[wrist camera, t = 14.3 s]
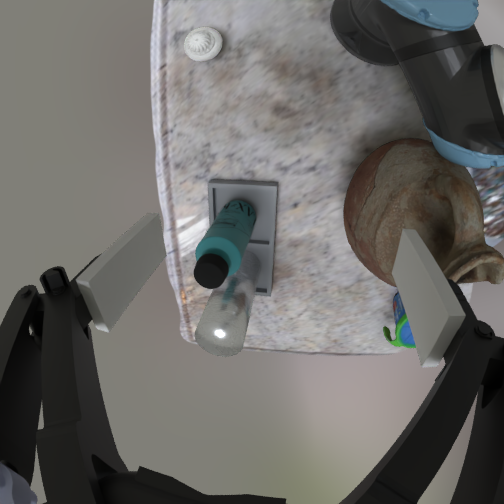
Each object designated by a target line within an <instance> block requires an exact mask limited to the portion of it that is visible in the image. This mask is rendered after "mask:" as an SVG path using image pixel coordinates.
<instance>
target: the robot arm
mask: <svg viewBox="0 0 504 504" xmlns="http://www.w3.org/2000/svg"><path fill="white" fill-rule="evenodd" d="M478 5H479V4H478V0H335V1H334V3H333V6H332V9H331V14H330V20H331V26H332V29H333V31H334V34H335V36H336V37H337V39H338V40H339V42H340V43H341V44H342V45H343V46H344V47H345V48H346V49H347V50H348V51H349V52H350V53H351V54H353V55H354V56H356V57H357V58H359V59H361V60H363V61H365V62H368V63H371V64H375V65H381V66H390V65H396V64H400V66H401V68H402V70H403V72H404V74H405V76H406V78H407V80H408V83H409V85H410V87H411V89H412V92H413V94H414V96H415V98H416V101H417V103H418V106H419V108H420V111H421V113H422V116H423V123H424V126H425V127H426V129H427V131H428V132H429V135H430V137H431V140H432V142H433V145H434V147H435V149H436V150H437V151H438V153H439V154H440V155H441V156H442V157H444V158H445V159H447V160H448V161H450V162H453V163H455V164H458V165H461V166H466V167H472V168H490V166H491V165H492V166H496V167H500V166H504V48H502V47H501V46H500V45H495V44H494V45H488V46H484V44H483V42H482V40H481V38H480V36H479V34H478V32H477V29H476V27H475V25H474V22H475V20H476V19H477V16H478V10H477V7H478ZM480 41H481V42H480ZM166 256H167V255H166V250H165V244H164V239H163V233H162V227H161V221H160V215H159V213H147V214H146V215H145V216H144V217H142V218H141V219H140V220H139V221H138V222H137V223H135V224H134V225H133V226H132V227H131V228H130V229H129V230H128V231H126V232H125V233H124V234H123V235H122V236H121V237H120V238H119V239H117V240H116V241H115V242H114V243H113V244H112V245H111V246H110V247H109V248H108V249H107V250H106V251H104V252H103V253H102V254H100V255H99V256H97V257H95V258H94V259H93V260H92V261H91V262H90V263H89V264H88V265H87V266H86V267H85V268H84V269H83V270H82V271H80V273H78V275H77V276H75V277H74V278H73V280H71V282H69V279H68V277H67V274H66V272H65V269H64V268H63V267H59V266H57V267H53V268H51V269H48V270H47V271H45V272H44V273H43V274H42V275H41V277H40V282H41V284H42V286H43V288H44V291H45V293H44V294H39V293H38V290H37V288H36V286H34V285H28V286H24V287H23V288H21V290H19V291H18V293H17V294H16V296H15V297H14V299H13V301H12V303H11V305H10V307H9V309H8V311H7V313H6V315H5V317H4V319H3V322H2V324H1V326H0V504H36V503H37V496H36V494H35V493H34V492H33V491H32V490H31V489H30V486H31V482H32V477H33V472H34V462H35V451H36V445H37V453H38V459H39V466H40V471H41V477H42V482H43V486H44V491H45V495H46V499H47V502H46V503H43V504H286V499H285V498H273V497H265V496H264V497H263V496H257V495H249V494H243V495H206V494H202V493H201V492H199V491H197V490H195V489H193V488H191V487H189V486H187V485H185V484H184V483H182V482H180V481H178V480H176V479H174V478H173V477H170V476H167V475H164V474H161V473H158V472H155V471H152V470H149V469H147V468H144V467H141V466H139V469H138V471H128V469H127V467H126V465H125V464H124V462H123V461H122V459H121V458H120V456H119V454H118V451H117V448H116V445H115V442H114V438H113V435H112V432H111V428H110V425H109V421H108V417H107V413H106V409H105V405H104V401H103V397H102V392H101V388H100V383H99V378H98V373H97V367H96V362H95V356H94V349H93V343H92V336H91V329H90V327H89V325H88V324H89V322H90V321H91V320H93V322H94V324H95V326H96V328H97V329H99V330H103V331H107V332H110V331H111V329H112V328H113V326H114V325H115V324H116V322H117V321H118V319H119V318H120V317H121V315H122V314H123V312H124V311H125V309H126V308H127V307H128V306H129V304H130V303H131V301H132V300H133V299H134V297H135V296H136V295H137V293H138V292H139V291H140V289H141V288H142V287H143V285H144V284H145V283H146V281H147V280H148V279H149V278H150V276H151V275H152V274H153V272H154V271H155V270H156V268H157V267H158V266H159V265H160V263H161V262H162V261H163V260H164V258H165V257H166ZM392 275H393V277H394V280H395V283H396V286H397V288H398V291H399V294H400V297H401V300H402V303H403V306H404V309H405V312H406V315H407V318H408V321H409V325H410V328H411V331H412V334H413V338H414V341H415V345H416V348H417V352H418V356H419V359H420V363H421V367H435V366H438V364H439V363H440V361H441V359H442V358H443V357H444V360H445V363H446V364H445V366H444V368H443V369H442V371H441V372H440V374H439V375H438V377H437V378H436V379H435V383H434V385H433V387H432V388H431V390H430V392H429V393H428V395H427V397H426V398H425V400H424V401H423V403H422V404H421V406H420V408H419V409H418V411H417V412H416V414H415V415H414V417H413V418H412V419H411V421H410V422H409V424H408V425H407V427H406V428H405V430H404V431H403V432H402V434H401V435H400V436H399V438H398V439H397V440H396V442H395V443H394V444H393V445H392V447H391V448H390V449H389V450H388V452H387V453H386V454H385V455H384V457H383V458H382V459H381V460H380V462H379V463H378V464H377V465H376V466H375V467H374V468H373V470H372V471H371V472H370V473H369V474H368V475H367V476H366V478H364V480H363V481H362V482H361V483H360V484H359V485H358V486H357V487H356V488H355V489H354V490H353V491H352V492H351V493H350V494H349V495H348V496H347V497H346V498H345V499H344V500H342V501H341V502H340V503H339V504H417V502H418V500H419V499H420V497H421V496H422V494H423V493H424V491H425V490H426V488H427V487H428V486H429V484H430V483H431V481H432V479H433V478H434V476H435V475H436V473H437V472H438V470H439V469H440V467H441V465H442V463H443V462H444V460H445V458H446V457H447V455H448V453H449V452H450V450H451V448H452V446H453V444H454V442H455V440H456V439H457V437H458V435H459V433H460V430H461V429H462V427H463V425H464V422H465V420H466V418H467V416H468V414H469V411H470V409H471V407H472V404H473V402H474V400H475V397H476V395H477V392H478V396H477V403H476V410H475V415H474V421H473V426H472V431H471V436H470V440H469V445H468V449H467V453H466V456H465V460H464V464H463V467H462V471H461V474H460V477H459V480H458V483H457V486H456V489H455V492H454V495H453V497H452V500H451V503H450V504H504V338H501V337H497V336H495V333H494V331H493V329H492V328H491V327H490V326H489V325H488V324H486V323H485V322H482V321H479V320H477V318H476V316H475V314H474V312H473V311H472V309H471V307H470V305H469V303H468V301H467V299H466V298H465V296H464V295H463V292H462V291H461V289H460V287H459V286H458V285H457V284H456V283H455V282H454V281H453V280H452V279H446V278H445V276H444V274H443V273H442V271H441V269H440V267H439V266H438V264H437V262H436V261H435V259H434V258H433V256H432V254H431V253H430V251H429V250H428V248H427V246H426V245H425V243H424V242H423V240H422V239H421V237H420V236H419V234H418V233H417V231H416V230H412V229H403V230H402V234H401V239H400V243H399V247H398V251H397V255H396V259H395V263H394V267H393V271H392ZM29 326H30V328H31V329H32V331H33V332H32V334H31V335H30V333H29ZM41 402H42V405H43V418H44V428H43V429H40V430H38V422H39V415H40V408H41Z"/></svg>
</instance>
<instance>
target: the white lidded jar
mask: <svg viewBox="0 0 504 504" xmlns="http://www.w3.org/2000/svg"><path fill="white" fill-rule="evenodd" d="M222 43H223V41H222V37H221V35H220V33H219V32H218V31H217V30H215V29H213V28H210V27H200V28H197V29H195V30H193V31H192V32H190V33H189V34H188V36H187V37H186V39H185V42H184V50H185V53H186V54H187V56H188V57H189V58H191V59H192V60H195V61H207V60H210V59H212V58H214V57H215V56H217V55H218V53H219V52H220V50H221V48H222Z"/></svg>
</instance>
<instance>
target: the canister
mask: <svg viewBox="0 0 504 504" xmlns="http://www.w3.org/2000/svg"><path fill="white" fill-rule="evenodd" d="M260 270H261V263H260V261H259V259H258V257H257V256H256V255H255V254H253V253H252V252H250V251H247V250H245V253H244V255H243V258H242V262H241V265H240V268H239V269H238V271H237V272H235V273H234V274H233V275H231V276H228V277H227V278H226V279H225V281H224V283H223V284H222V285H221V286H220V287H218V288H215V289H213V291H212V293H211V295H210V298H209V300H208V302H207V305H206V307H205V309H204V312H203V314H202V317H201V319H200V321H199V324H198V326H197V328H196V331H195V339H196V341H197V343H198V344H199V346H200V347H201V348H203V349H204V350H205V351H207V352H209V353H211V354H214V355H217V356H233V355H236V354H237V353H238V352H240V351H241V350H242V348H243V344H244V340H245V336H246V331H247V327H248V323H249V318H250V314H251V310H252V305H253V301H254V297H255V292H256V288H257V283H258V279H259V275H260Z"/></svg>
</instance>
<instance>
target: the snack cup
mask: <svg viewBox="0 0 504 504" xmlns="http://www.w3.org/2000/svg"><path fill="white" fill-rule="evenodd" d="M393 309H394V316H395V324H396V330H395V334H396V339H395V340H393V341H392V339H391V336H390V330H389V329H388V328H387V327H385V326H384V327H383V332H384V335H385V337H386V339H387V341H388V342H390V343H391V344H392V345H394V346H398V347H400V346H404V347H407V348H416V345H415V341H414V338H413V334H412V331H411V328H410V325H409V321H408V318H407V315H406V312H405V309H404V306H403V303H402V300H401V297H400V294H399V292H398V294H397V295H396V296H395V297H394V301H393Z"/></svg>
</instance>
